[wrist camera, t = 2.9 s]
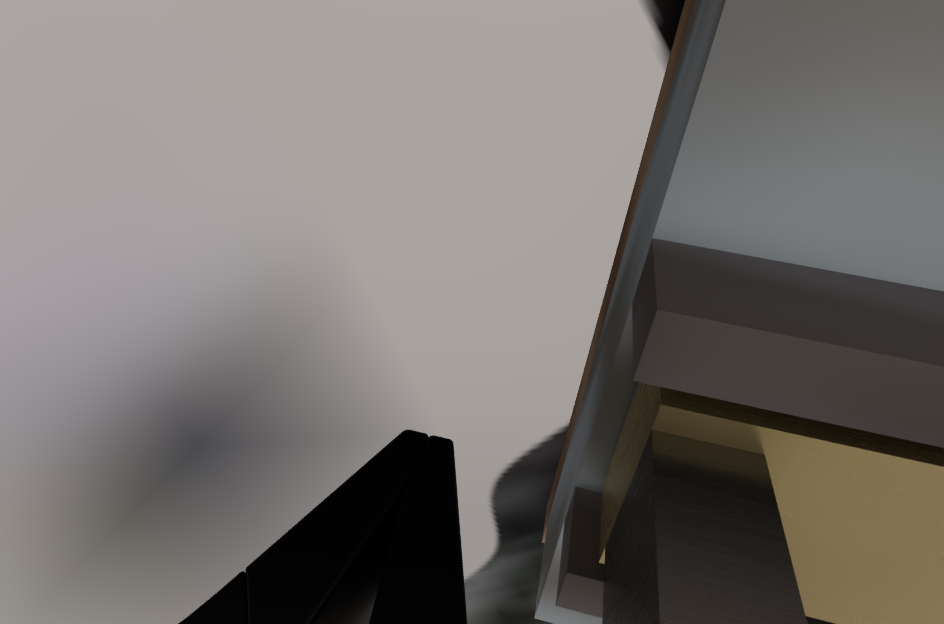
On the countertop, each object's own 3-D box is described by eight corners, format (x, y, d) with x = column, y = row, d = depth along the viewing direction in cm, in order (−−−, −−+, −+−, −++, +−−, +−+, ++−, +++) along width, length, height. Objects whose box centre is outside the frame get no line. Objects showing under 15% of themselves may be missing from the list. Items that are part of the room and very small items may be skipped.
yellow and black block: (912, 558, 11) (1063, 899, 7) (602, 484, 12) (589, 755, 8) (1053, 411, 9) (1383, 796, 5) (656, 331, 10) (674, 610, 6)
